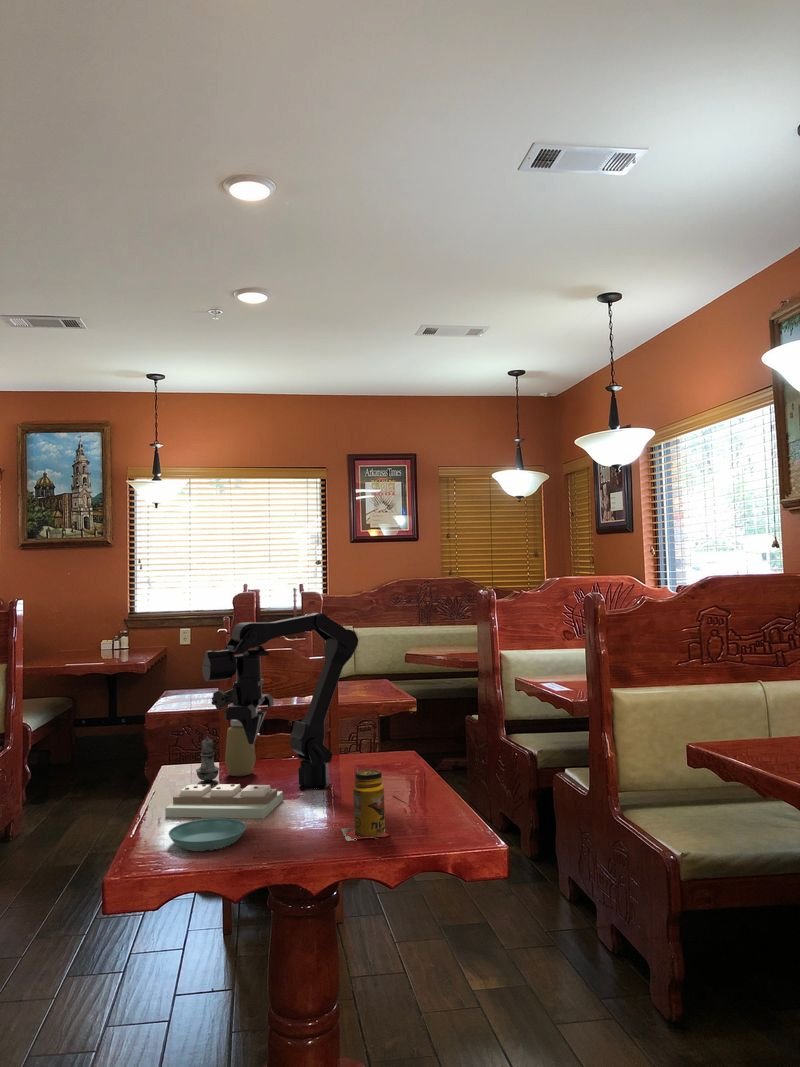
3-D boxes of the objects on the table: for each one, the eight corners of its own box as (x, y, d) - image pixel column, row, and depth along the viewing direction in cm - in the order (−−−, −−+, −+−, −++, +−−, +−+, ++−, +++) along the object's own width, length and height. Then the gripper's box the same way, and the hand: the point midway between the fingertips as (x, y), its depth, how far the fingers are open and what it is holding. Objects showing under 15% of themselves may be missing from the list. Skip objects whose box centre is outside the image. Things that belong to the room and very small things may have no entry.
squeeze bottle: (253, 777, 206) (251, 706, 207) (221, 778, 206) (220, 707, 207) (258, 770, 214) (257, 701, 215) (228, 770, 214) (227, 702, 215)
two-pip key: (240, 795, 180) (240, 783, 181) (232, 801, 176) (232, 789, 176) (219, 795, 181) (218, 783, 181) (210, 801, 176) (210, 789, 176)
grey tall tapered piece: (213, 787, 197) (213, 737, 198) (191, 786, 198) (191, 737, 199) (223, 781, 203) (223, 733, 204) (202, 780, 204) (201, 733, 205)
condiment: (390, 837, 155) (388, 774, 156) (347, 842, 153) (345, 778, 154) (382, 826, 162) (380, 766, 163) (341, 830, 160) (339, 769, 161)
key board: (282, 800, 184) (282, 785, 184) (264, 818, 170) (263, 802, 170) (191, 799, 187) (191, 784, 187) (165, 817, 173) (165, 801, 173)
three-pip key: (210, 795, 181) (210, 783, 182) (202, 802, 177) (201, 789, 177) (189, 795, 182) (189, 783, 182) (180, 801, 177) (180, 789, 177)
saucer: (229, 857, 147) (229, 842, 147) (154, 854, 150) (154, 840, 150) (257, 831, 162) (257, 818, 162) (188, 829, 164) (188, 816, 165)
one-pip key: (270, 796, 180) (270, 784, 180) (263, 802, 175) (263, 790, 175) (248, 796, 180) (248, 784, 180) (241, 802, 175) (241, 789, 175)
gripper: (228, 672, 198) (231, 736, 197) (201, 683, 180) (203, 753, 179) (272, 670, 197) (275, 735, 196) (249, 681, 178) (252, 752, 177)
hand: (251, 743), depth 187 cm, fingers closed
